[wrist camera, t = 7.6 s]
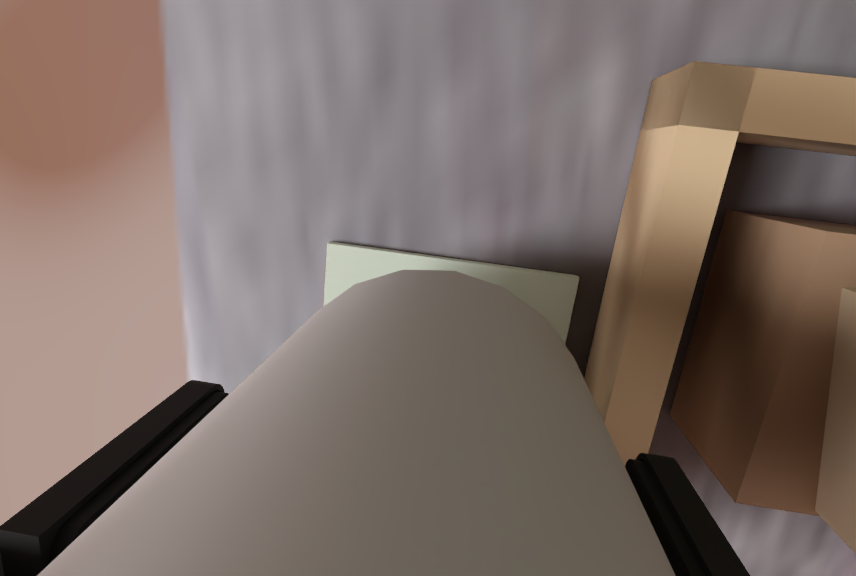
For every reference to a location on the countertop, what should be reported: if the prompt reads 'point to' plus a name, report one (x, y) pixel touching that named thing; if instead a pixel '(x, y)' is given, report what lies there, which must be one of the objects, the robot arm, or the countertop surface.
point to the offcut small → (841, 430)
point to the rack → (690, 216)
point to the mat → (531, 286)
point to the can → (390, 455)
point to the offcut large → (766, 356)
